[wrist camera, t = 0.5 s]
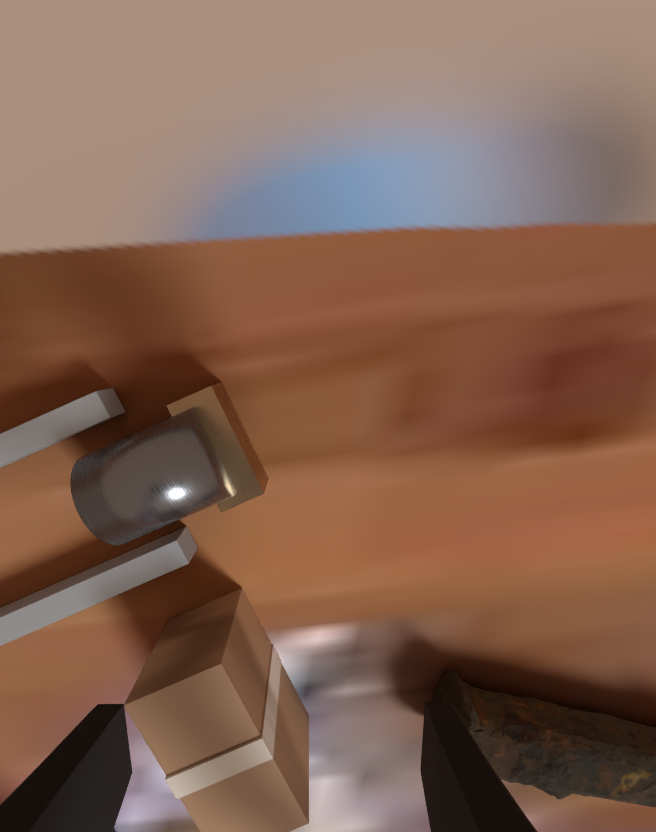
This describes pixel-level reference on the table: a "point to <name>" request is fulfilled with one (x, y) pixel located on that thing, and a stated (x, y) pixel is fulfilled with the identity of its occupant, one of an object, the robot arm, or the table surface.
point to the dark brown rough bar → (557, 744)
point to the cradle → (107, 575)
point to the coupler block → (225, 720)
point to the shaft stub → (168, 470)
